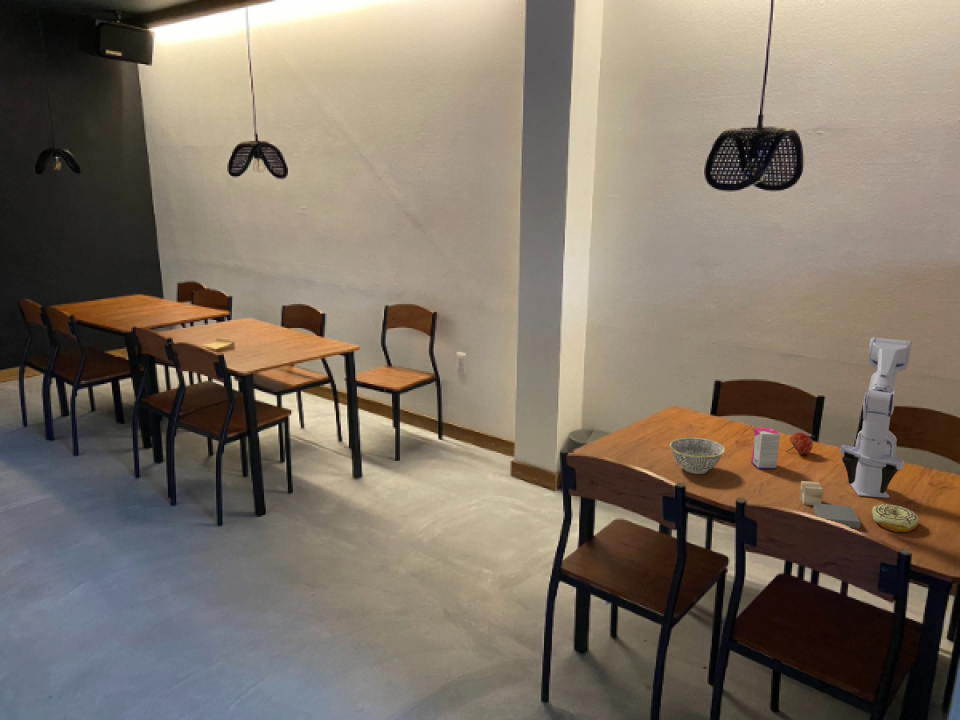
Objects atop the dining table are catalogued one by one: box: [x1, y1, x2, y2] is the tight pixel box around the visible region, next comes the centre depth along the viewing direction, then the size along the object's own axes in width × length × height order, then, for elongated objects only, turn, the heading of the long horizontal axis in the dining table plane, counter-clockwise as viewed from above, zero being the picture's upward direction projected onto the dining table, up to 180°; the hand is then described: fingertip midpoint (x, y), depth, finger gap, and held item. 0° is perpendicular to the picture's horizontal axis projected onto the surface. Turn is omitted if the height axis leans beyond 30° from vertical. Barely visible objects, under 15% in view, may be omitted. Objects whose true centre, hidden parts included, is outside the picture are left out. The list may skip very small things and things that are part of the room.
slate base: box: [812, 503, 862, 530], centre depth 185 cm, size 9×9×2 cm
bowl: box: [669, 437, 726, 475], centre depth 217 cm, size 16×16×8 cm
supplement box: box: [750, 427, 781, 470], centre depth 219 cm, size 6×6×12 cm
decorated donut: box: [871, 503, 920, 533], centre depth 183 cm, size 10×11×4 cm
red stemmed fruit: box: [785, 431, 816, 456], centre depth 229 cm, size 7×7×10 cm
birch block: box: [799, 480, 824, 506], centre depth 195 cm, size 4×4×5 cm
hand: (867, 487), depth 182 cm, fingers open, 7 cm apart
